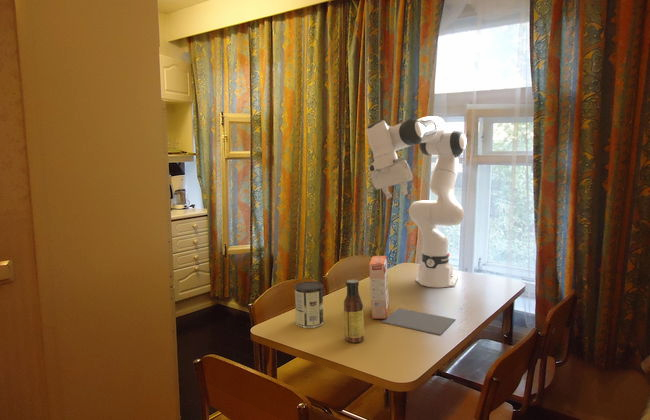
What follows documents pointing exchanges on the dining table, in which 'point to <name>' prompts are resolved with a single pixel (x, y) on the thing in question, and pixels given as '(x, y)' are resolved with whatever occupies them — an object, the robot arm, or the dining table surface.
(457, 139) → the robot arm
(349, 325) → the sauce bottle
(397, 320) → the mat
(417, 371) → the dining table surface
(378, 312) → the cracker box
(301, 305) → the coffee can
